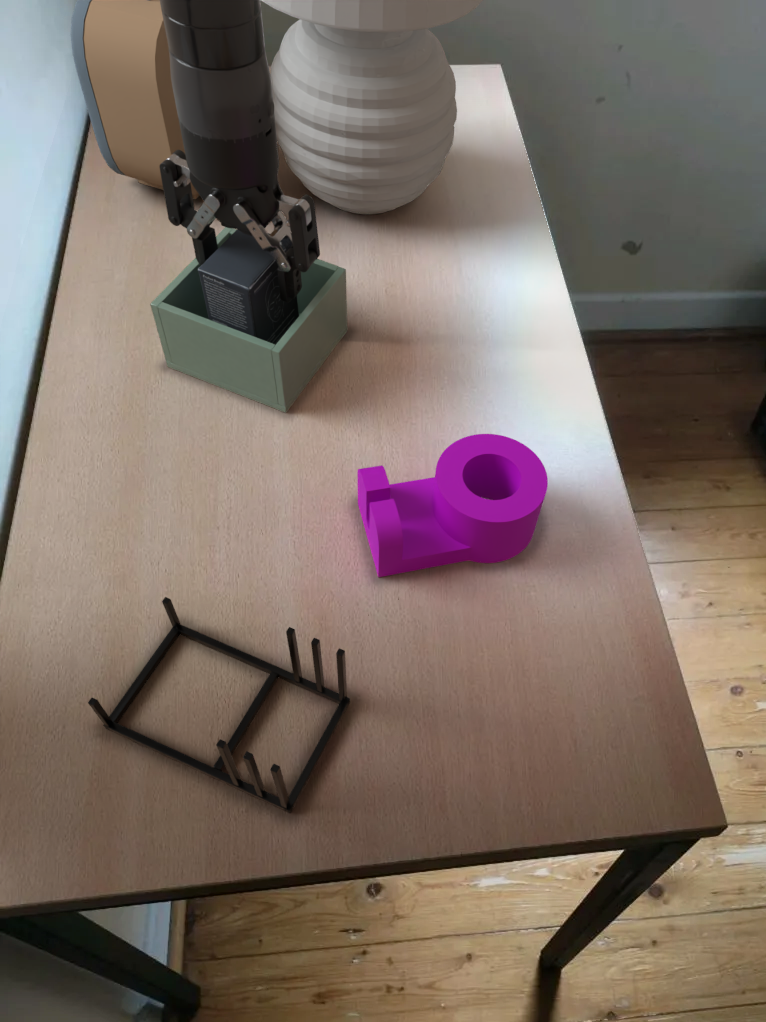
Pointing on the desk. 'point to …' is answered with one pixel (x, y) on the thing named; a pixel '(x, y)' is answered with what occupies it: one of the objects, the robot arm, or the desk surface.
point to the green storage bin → (246, 358)
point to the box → (246, 289)
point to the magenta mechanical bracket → (455, 507)
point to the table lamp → (365, 98)
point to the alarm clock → (127, 84)
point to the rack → (229, 748)
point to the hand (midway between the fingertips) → (250, 282)
